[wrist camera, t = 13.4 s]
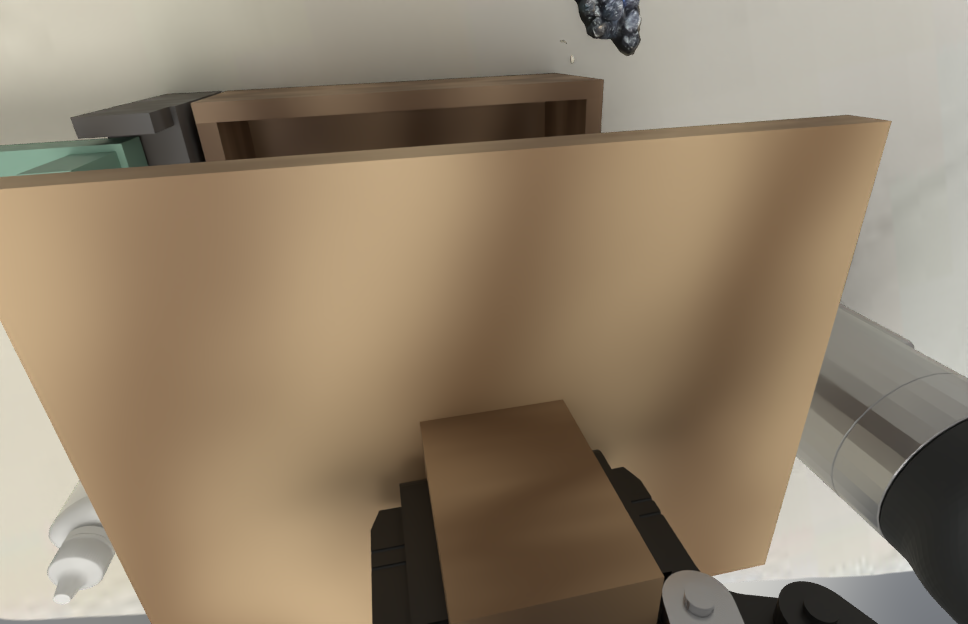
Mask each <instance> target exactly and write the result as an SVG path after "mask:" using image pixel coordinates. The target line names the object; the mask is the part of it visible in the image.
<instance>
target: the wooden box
mask: <svg viewBox="0 0 968 624" xmlns="http://www.w3.org/2000/svg"><path fill="white" fill-rule="evenodd" d="M603 84H604V80H603V79H596V78H588V77H581V76H573V75H566V74H558V73H548V74H530V75H511V76H493V77H474V78H456V79H437V80H419V81H400V82H382V83H364V84H345V85H327V86H308V87H290V88H271V89H253V90H234V91H225V92H222V93H221V91H216V92H197V93H179V94H164V95H160V96H156V97H152V98H148V99H144V100H140V101H136V102H132V103H128V104H124V105H120V106H116V107H112V108H107V109H103V110H99V111H95V112H91V113H87V114H83V115H79V116H75V117H71V120H72V123H73V126H74V129H75V131H76V134H77V137H78V139H80V138H95V137H108V138H121V137H137V136H139V138H140V141H141V145H142V148H143V151H144V154H145V157H146V160H147V164H148V166H157V165H171V164H185V163H198V162H212V161H226V160H239V159H253V158H267V157H280V156H294V155H308V154H321V153H335V152H348V151H362V150H376V149H389V148H403V147H417V146H430V145H444V144H458V143H471V142H485V141H499V140H512V139H526V138H540V137H553V136H567V135H581V134H594V133H601V119H602V102H603Z"/></svg>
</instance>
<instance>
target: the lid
mask: <svg viewBox="0 0 968 624" xmlns="http://www.w3.org/2000/svg"><path fill="white" fill-rule="evenodd" d="M891 122H892V121H887V120H880V119H873V118H866V117H859V116H851V115H840V116H827V117H813V118H799V119H786V120H772V121H758V122H745V123H731V124H717V125H704V126H690V127H676V128H663V129H649V130H635V131H622V132H608V133H594V134H581V135H567V136H553V137H540V138H526V139H512V140H499V141H485V142H471V143H458V144H444V145H430V146H417V147H403V148H389V149H376V150H362V151H348V152H335V153H321V154H308V155H294V156H280V157H267V158H253V159H239V160H226V161H212V162H198V163H185V164H171V165H157V166H144V167H130V168H116V169H103V170H89V171H75V172H62V173H48V174H34V175H21V176H7V177H0V321H1V323H2V325H3V327H4V329H5V331H6V333H7V335H8V337H9V339H10V341H11V343H12V345H13V347H14V349H15V351H16V353H17V355H18V357H19V359H20V361H21V363H22V365H23V367H24V369H25V371H26V373H27V375H28V377H29V379H30V381H31V383H32V385H33V387H34V389H35V391H36V393H37V395H38V397H39V399H40V401H41V403H42V405H43V407H44V409H45V411H46V413H47V415H48V417H49V419H50V421H51V423H52V425H53V427H54V429H55V431H56V433H57V435H58V437H59V439H60V441H61V443H62V445H63V447H64V449H65V451H66V453H67V455H68V457H69V459H70V461H71V463H72V465H73V467H74V469H75V471H76V473H77V475H78V477H79V479H80V481H81V483H82V485H83V487H84V489H85V491H86V493H87V495H88V497H89V499H90V502H91V504H92V506H93V508H94V510H95V512H96V514H97V516H98V518H99V520H100V522H101V524H102V526H103V528H104V530H105V532H106V534H107V536H108V538H109V540H110V542H111V544H112V546H113V548H114V550H115V552H116V554H117V556H118V558H119V560H120V562H121V564H122V566H123V568H124V570H125V572H126V574H127V576H128V578H129V580H130V582H131V584H132V586H133V588H134V590H135V592H136V594H137V596H138V598H139V600H140V602H141V604H142V606H143V608H144V610H145V612H146V614H147V616H148V618H149V620H150V622H151V624H372V583H371V572H372V570H371V528H372V526H373V523H374V521H375V519H376V517H377V515H378V512H379V511H380V510H385V509H391V508H396V507H401V498H400V486H399V483H405V482H410V481H416V480H422V479H427V481H428V487H429V494H430V501H431V507H432V514H433V520H434V527H435V534H436V540H437V547H438V554H439V560H440V567H441V573H442V580H443V587H444V593H445V600H446V606H447V613H448V620H449V624H657V618H658V612H659V606H660V600H661V594H662V588H663V582H664V575H663V574H662V572H661V570H660V568H659V567H658V565H657V563H656V561H655V560H654V558H653V556H652V554H651V553H650V551H649V549H648V547H647V546H646V544H645V542H644V540H643V539H642V537H641V535H640V533H639V532H638V530H637V528H636V526H635V525H634V523H633V521H632V519H631V518H630V516H629V514H628V512H627V511H626V509H625V507H624V505H623V504H622V502H621V500H620V498H619V497H618V495H617V493H616V491H615V490H614V488H613V486H612V484H611V483H610V481H609V479H608V477H607V476H606V474H605V472H604V470H603V469H602V467H601V465H600V463H599V462H598V460H597V458H596V456H595V455H594V453H593V451H592V450H596V449H598V450H600V451H601V452H602V454H603V455H604V457H605V459H606V460H607V462H608V464H609V465H610V467H611V469H614V468H619V467H624V468H626V469H627V470H628V471H630V472H631V473H632V474H633V475H635V476H636V477H637V478H639V479H640V480H641V481H642V483H643V484H644V486H645V487H646V489H647V491H648V492H649V494H650V495H651V497H652V500H653V501H655V503H656V505H657V506H658V508H659V509H660V511H661V514H662V515H664V517H665V518H666V520H667V522H668V523H669V525H670V526H671V528H672V529H673V531H674V532H675V534H676V536H677V537H678V539H679V540H680V542H681V543H682V545H683V546H684V548H685V550H686V551H687V553H688V554H689V556H690V557H691V559H692V560H693V562H694V563H695V565H696V566H697V568H698V569H699V570H700V572H702V573H705V574H707V575H709V576H714V575H719V574H723V573H728V572H732V571H737V570H741V569H746V568H750V567H755V566H759V565H764V564H765V562H766V558H767V555H768V551H769V548H770V544H771V541H772V537H773V534H774V530H775V527H776V523H777V520H778V516H779V513H780V509H781V506H782V502H783V499H784V495H785V492H786V488H787V485H788V481H789V478H790V474H791V471H792V467H793V464H794V460H795V457H796V453H797V450H798V446H799V443H800V439H801V436H802V432H803V429H804V425H805V422H806V418H807V415H808V411H809V408H810V404H811V401H812V397H813V394H814V390H815V387H816V383H817V380H818V376H819V373H820V370H821V366H822V363H823V359H824V356H825V352H826V349H827V345H828V342H829V338H830V335H831V331H832V328H833V324H834V321H835V317H836V314H837V310H838V307H839V303H840V300H841V296H842V293H843V289H844V286H845V282H846V279H847V275H848V272H849V268H850V265H851V261H852V258H853V254H854V251H855V247H856V244H857V240H858V237H859V233H860V230H861V226H862V223H863V219H864V216H865V212H866V209H867V205H868V202H869V198H870V195H871V191H872V188H873V184H874V181H875V177H876V174H877V171H878V167H879V164H880V160H881V157H882V153H883V150H884V146H885V143H886V139H887V136H888V132H889V129H890V125H891Z"/></svg>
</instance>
